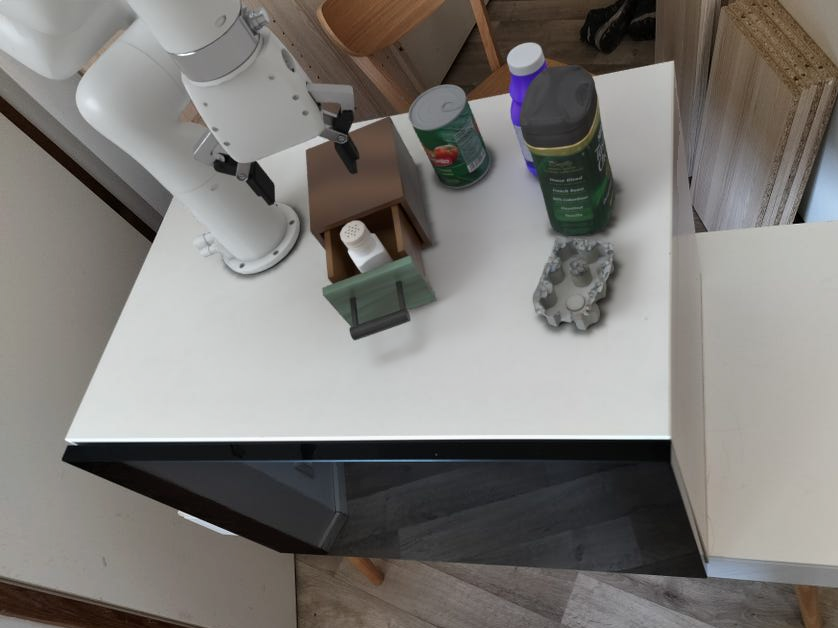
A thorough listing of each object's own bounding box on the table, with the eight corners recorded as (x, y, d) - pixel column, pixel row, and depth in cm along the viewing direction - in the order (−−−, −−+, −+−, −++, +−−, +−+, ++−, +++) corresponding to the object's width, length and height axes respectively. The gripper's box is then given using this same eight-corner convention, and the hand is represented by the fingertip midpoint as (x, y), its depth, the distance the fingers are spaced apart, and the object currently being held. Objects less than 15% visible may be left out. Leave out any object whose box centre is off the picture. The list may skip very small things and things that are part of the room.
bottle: (587, 148, 90) (559, 33, 75) (578, 181, 87) (548, 69, 73) (535, 150, 92) (499, 39, 78) (525, 181, 90) (486, 74, 76)
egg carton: (595, 335, 75) (589, 316, 72) (533, 324, 79) (524, 305, 75) (622, 258, 79) (617, 236, 76) (562, 250, 82) (555, 229, 79)
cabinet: (432, 245, 90) (403, 196, 82) (346, 276, 92) (310, 231, 84) (417, 166, 98) (389, 115, 90) (338, 197, 100) (305, 149, 92)
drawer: (443, 337, 81) (418, 301, 74) (356, 367, 82) (325, 334, 76) (420, 217, 92) (397, 177, 85) (344, 246, 94) (316, 208, 87)
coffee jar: (610, 239, 81) (582, 120, 66) (547, 239, 84) (506, 125, 69) (622, 178, 85) (598, 52, 70) (561, 180, 88) (525, 60, 73)
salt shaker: (367, 277, 88) (331, 230, 80) (393, 260, 88) (360, 211, 80) (379, 296, 85) (343, 250, 78) (405, 278, 86) (372, 231, 78)
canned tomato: (432, 190, 95) (400, 131, 86) (445, 148, 98) (416, 87, 89) (484, 187, 92) (457, 126, 83) (496, 145, 95) (472, 81, 86)
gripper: (304, -19, 59) (383, 129, 73) (132, 54, 61) (241, 183, 76) (307, 30, 55) (391, 177, 69) (124, 106, 58) (240, 232, 72)
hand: (312, 180), depth 72 cm, fingers open, 9 cm apart
